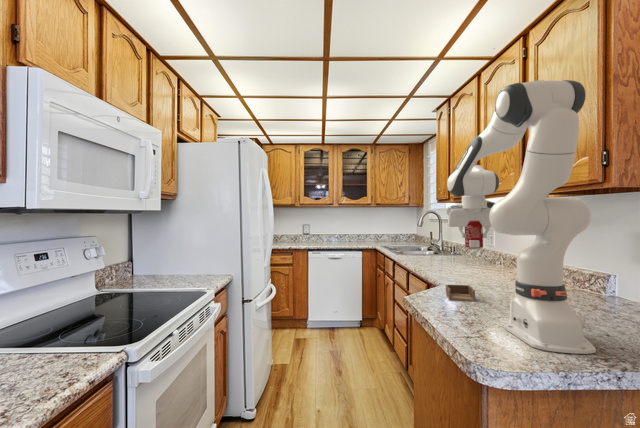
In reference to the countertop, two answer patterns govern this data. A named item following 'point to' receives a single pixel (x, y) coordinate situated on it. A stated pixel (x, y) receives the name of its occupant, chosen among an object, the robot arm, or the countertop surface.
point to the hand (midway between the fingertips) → (474, 237)
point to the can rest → (460, 292)
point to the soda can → (474, 235)
